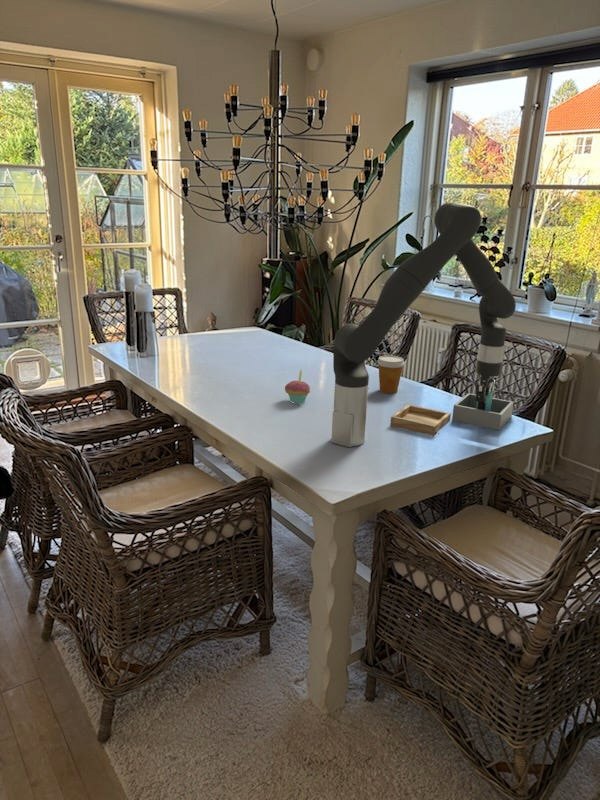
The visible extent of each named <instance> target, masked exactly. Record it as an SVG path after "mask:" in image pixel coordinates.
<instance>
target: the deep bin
mask: <svg viewBox="0 0 600 800" xmlns="http://www.w3.org/2000/svg"><path fill="white" fill-rule="evenodd" d="M514 403H515V402H514V401H511V400H507V399H506V400H505V399H500V398H496V397H492V403H491V410H490V411H485V410H480V409H476V404H477V401H476V393H475V394H474V393H470V392H468V393H467V394H465V395H463V397H461V398H460V399H459V400H458V401H457V402H455V403H454V404H453V409H452V417H451V421H454V422H457V423H458V422H459V423H463V424H467V425H473V426H478V427H481V428H486V429H490V430H495V431H500V430H502V428H503V427H504V426H505V425H506V423H508V422H509V420H510V419H511V418H512V417H513V416H512V415H513V408H514Z"/></svg>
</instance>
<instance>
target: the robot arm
mask: <svg viewBox="0 0 600 800" xmlns="http://www.w3.org/2000/svg"><path fill="white" fill-rule="evenodd" d="M480 212H481V211H480V210H479V209H478V208H476V207H475V206H472V205H468V204H465V203H460V202H456V201H455V202H454V201H447V202H445V203H443V204H442V205H440V206H439V207H438V208H437V210H436V212H435V215H434V227H435V229H436V231H437V232H438V234H439V235H438V236H437V237H436V238H435V239H434V240H433V242H431V243H430V244H429V245H428V246H426V247H424V248H423V249H421V250H419V251H418V252H416V253H414V254H413V255H411V256H409V257H408V258H406V259H405V260H404V261H402V262H401V263H400V264H399V265H398V266H397V268H396V269H395V270H394V271H393V272H392V274H391V275H390V276H389V277H388V278H387V279H386V281H385V283H384V284H383V286H382V289H381V291H380V293H379V297H378V299H377V302H376V303H375V305H374V308H373V309H372V311H371V312H370V313H369V315H368V316H366V318H365V319H364V320H363V321H362V322H361V323H360V324H359V325H358V324H355V323H346V324H344V325H342V326H341V327H340V328H339V329H338V330H337V331H336V333H335V335H334V336H335V337H334V340H333V359H332V360H333V364H332V365H333V366H332V367H333V373H334V379H335V380H334V381H335V382H334V395H333V396H334V397H333V398H334V399H333V400H334V401H333V411H332V419H331V420H332V424H331V443H332V444H336V445H338V446H339V445H340V446H344V447H347V448H352V447H357V446H360V445H363V444H364V443H365V438H366V437H365V436H366V422H367V410H368V393H369V381H370V380H369V379H370V375H369V372H368V370H367V368H366V361H367V360H369V358H371V357H372V356H373V354H374V353H375V352H376V351H377V349H378V348H379V346H380V345H381V343H382V342H383V340H384V339H385V337H386V336H387V334H388V333H389V332H390V330H391V329H392V328H393V326H394V325H395V324H396V322H398V321H399V319H400V318H401V317H402V316H403V315H404V313H405V312H406V311H407V310H408V309H409V308H410V306H411V305H412V304H413V303H414V302H415V301H416V300H417V299H418V298H419V297H420V295H421V294H422V293H423V292H424V290H425V289H426V288H427V286H428V285H429V284H430V283H431V281H433V280H434V279H435V277H436V276H437V275H438V274H439V272H440V271H441V270H442V269H443V268H444V267H445V265H447V264H448V262H449V261H450V260H451V259H452V258H453V257H454V256H456V257H457V259H458V260H459V262H460V264H461V266H462V267H463V268H464V270H465V272H466V274H467V276H468V278H469V280H470V282H471V284H472V285H473V288H474V290H475V291H476V293H477V294H478V295H479V296H481V298H480V301H479V304H478V311H479V312H478V313H479V322H480V326H481V327H480V328H481V332H480V340H479V341H480V342H479V347H478V350H477V356H476V357H477V358H476V365H475V373H476V374H478V375H480V376H481V377H480V379H479V380H478V384H476V388H475V389H476V393H475V395H476V401H477V402H478V407H477V409H480V410H485V406H486V402H487V396H489V394H490V390H491V391H493V395H494V393H495V387H496V382H497V380H498V377H499V376H501V374H502V369H503V363H504V362H503V361H504V355H505V343H506V341H505V340H506V335H507V334H506V333H507V330H506V329H507V328H506V327H505V326H504V325H502V324H500V323H499V322H498V321H499V320H498V319H504V320H505V319H509V318H510V317H512V316H513V315H514V313H515V312H516V299H515V298H514V295H513V294H512V292H511V291H510V290H509V288H507V287H506V285H505V284H504V283H503V282H501V280H500V279H499V276H498V275H497V272H496V269H495V268H494V266H493V264H492V262H491V261H490V259H489V258H488V257H487V256H486V255H485V254H484V252H483V251H482V250H481V249H480V247H478V246H477V245H476V242H474V240H473V237H474V236H475V235H476V234H477V232H478V231H479V228H480V225H481V222H482V216H481V213H480ZM485 392H487V393H485ZM481 396H482V397H483V398H481Z"/></svg>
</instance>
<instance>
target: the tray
mask: <svg viewBox="0 0 600 800" xmlns="http://www.w3.org/2000/svg"><path fill="white" fill-rule="evenodd" d="M451 415H452V413H451V412H446V411H441V410H437V409H432V408H427V407H423V406H418V405H413V404H407V405H406V406H404V407H403V408H401V409H400V410H398V411H397V412H395V413H394V414H393V415H391V416H390V423H389V426H391V427H394V428H398V429H402V430H408V431H410V432H416V433H419V434H420V433H421V434H424V435H429V436H432V437H435V436H436V435H437V434H438V431H439V430H440V429H442V427H443V426H445V425H446V424H447V423H448V422H449V421H450V420H451ZM434 435H435V436H434Z"/></svg>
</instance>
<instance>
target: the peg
mask: <svg viewBox="0 0 600 800" xmlns="http://www.w3.org/2000/svg"><path fill="white" fill-rule="evenodd" d="M485 393H487V392H485ZM493 396H494V394H493V391H491V390H490V394H489V396H487V402H486V406H485V411H490V410H491V403H492V398H493ZM481 398H483V397H482V396H481ZM477 407H478V402H477V404H476V409H477Z"/></svg>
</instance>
